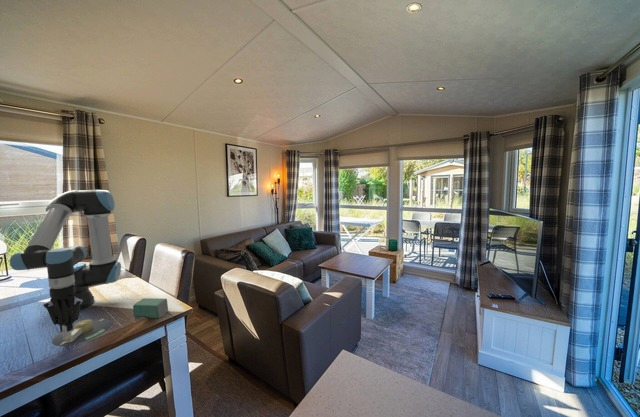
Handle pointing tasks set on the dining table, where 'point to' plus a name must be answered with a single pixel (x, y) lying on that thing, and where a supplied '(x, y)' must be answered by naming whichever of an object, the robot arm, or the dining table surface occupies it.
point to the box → (151, 307)
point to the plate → (98, 329)
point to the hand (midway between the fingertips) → (67, 338)
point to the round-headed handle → (79, 330)
